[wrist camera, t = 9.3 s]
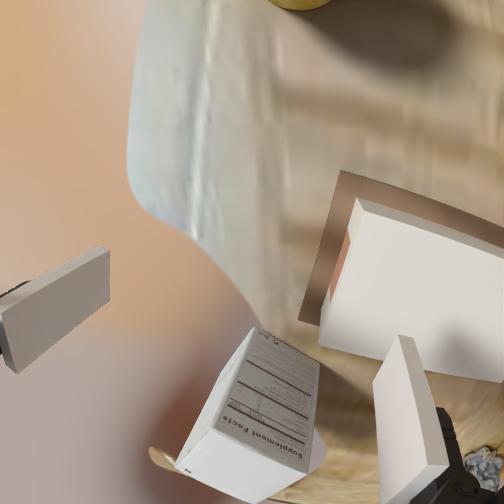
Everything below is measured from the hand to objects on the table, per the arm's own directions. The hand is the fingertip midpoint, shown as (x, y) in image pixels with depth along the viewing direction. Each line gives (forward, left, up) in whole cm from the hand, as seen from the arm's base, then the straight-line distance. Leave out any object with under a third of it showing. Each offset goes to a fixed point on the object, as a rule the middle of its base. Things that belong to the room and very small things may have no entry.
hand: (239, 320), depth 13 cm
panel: (0, +12, -11) cm, 17 cm away
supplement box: (+13, +2, -13) cm, 18 cm away
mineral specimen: (+24, +35, -13) cm, 44 cm away
